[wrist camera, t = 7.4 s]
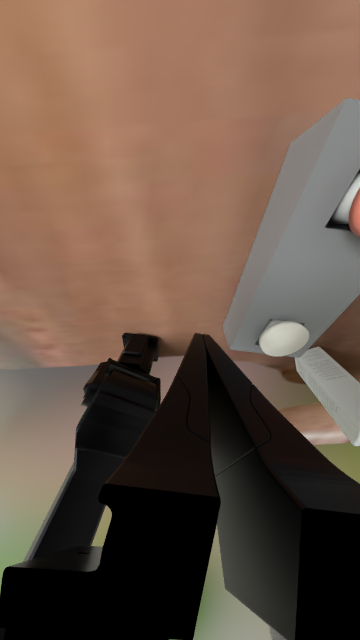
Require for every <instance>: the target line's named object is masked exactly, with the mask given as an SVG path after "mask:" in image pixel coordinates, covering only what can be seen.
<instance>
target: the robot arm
mask: <svg viewBox="0 0 360 640" xmlns="http://www.w3.org/2000/svg"><path fill="white" fill-rule="evenodd" d="M122 338H123V344H124V349H123V351H122V353H121V355H120V357H119V359H118V361H114V360H112V359H111V358H109V359H108V361H107V362H102V363H100V365H99V366H98V368H97V369H96V371H95V373H94V374H93V375H92V377H91V378H90V379H89V381H88V382H87V383H86V385H85V386H84V388H83V390H84V394H85V395H84V397H83V398H85V399H84V401H83V402H82V404H81V405H82V406H86V407H87V408H86V410H85V412H84V414H83V415H82V417H81V419H80V421H79V424H78V426H77V428H76V439H75V457H74V463H73V465H72V467H71V468H70V471H69V472H68V474H67V476H66V478H65V480H64V482H63V484H62V486H61V488H60V490H59V492H58V494H57V496H56V498H55V500H54V502H53V504H52V506H51V508H50V510H49V512H48V514H47V516H46V517H45V520H44V521H43V523H42V525H41V527H40V530H39V531H38V533H37V535H36V537H35V539H34V541H33V543H32V545H31V547H30V549H29V551H28V553H27V555H26V557H25V559H24V561H23V562H22V563H18V564H15V565H12V566H9V567H6V568H5V570H4V572H3V577H2V584H1V593H0V640H169V639H177V640H193V637H194V632H195V626H196V621H197V616H198V611H199V607H200V602H201V597H202V592H203V587H204V582H205V578H206V572H207V568H208V563H209V558H210V553H211V548H212V544H213V539H214V534H215V529H216V525H217V526H218V535H219V543H220V552H221V560H222V568H223V576H224V583H225V589H226V590H227V591H229V592H230V593H231V594H232V595H233V596H235V597H236V598H237V599H238V600H239V601H240V602H242V603H243V604H244V605H245V606H246V607H248V608H249V609H250V610H251V611H252V612H254V613H255V614H256V615H257V616H259V617H260V618H261V619H262V620H263V621H264V622H266V623H267V624H268V627H269V632H270V637H271V640H360V484H359V483H358V482H356V481H355V480H353V479H351V478H350V477H349V476H348V475H346V474H345V473H344V472H342V471H341V470H340V469H338V468H337V467H336V466H335V465H334V464H333V463H331V462H330V461H329V460H328V459H327V458H326V457H325V456H324V455H323V454H322V453H321V452H320V451H318V450H317V449H316V448H315V447H314V446H313V445H312V444H311V443H310V442H309V441H308V440H307V439H306V438H305V437H304V436H303V435H302V434H301V433H300V432H299V431H298V430H297V429H296V428H295V427H294V426H293V425H292V424H291V423H290V422H289V421H288V420H287V419H286V418H285V417H284V416H283V415H282V414H281V413H280V412H279V411H278V410H277V409H276V408H275V407H274V406H273V405H272V404H271V403H270V402H269V401H268V400H267V399H266V398H265V397H264V395H263V394H262V393H261V392H260V391H259V390H258V389H257V388H256V387H255V385H252V382H251V381H250V380H249V379H248V378H247V377H246V376H245V374H244V373H243V372H242V371H241V370H240V369H239V368H238V367H237V365H236V364H235V363H234V362H233V361H232V360H231V359H230V358H229V356H228V355H227V354H226V353H225V352H224V351H223V350H222V349H221V347H220V346H219V345H218V344H217V343H216V342H215V341H214V340H213V339H212V337H211V336H210V335H207V334H199V333H195V334H194V336H193V338H192V340H191V343H190V345H189V347H188V349H187V351H186V354H185V356H184V358H183V360H182V363H181V365H180V367H179V369H178V372H177V374H176V376H175V378H174V380H173V382H172V385H171V386H170V388H169V390H168V392H167V394H166V396H165V398H164V399H163V401H162V403H161V404H160V400H161V397H160V378H156V377H153V376H151V375H150V371H151V368H152V364H153V361H157V360H158V338H157V337H153V336H145V335H136V334H128V333H124V334H123V335H122ZM155 339H156V340H155ZM106 505H107V506H108V507H109V508H110V509H111V512H112V518H111V522H110V525H109V529H108V532H107V535H106V539H105V542H104V545H103V547H94V546H91V545H92V542H93V539H94V536H95V534H96V531H97V528H98V526H99V523H100V520H101V517H102V514H103V512H104V509H105V506H106Z"/></svg>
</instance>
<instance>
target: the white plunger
mask: <svg viewBox="0 0 360 640" xmlns="http://www.w3.org/2000/svg"><path fill="white" fill-rule="evenodd" d="M308 339H309V332H308V330H307V329H306V328H305V327H304V326H303V325H301V324H300V323H298V322H296V321H282V320H274V319H270V320H269V322H268V323H267V325H266V327H265V328H264V330H263V332H262V333H261V335H260V337H259V345H260V347H261V349H262V351H263V352H264V353H265V354H267V355H270V356H285V355H289V354H292V353H294V352H296V351H298V350H299V349H301V348H302V347H303V346H304V345H305V344H306V343H307V341H308Z"/></svg>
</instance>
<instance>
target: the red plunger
mask: <svg viewBox="0 0 360 640" xmlns="http://www.w3.org/2000/svg"><path fill="white" fill-rule="evenodd" d="M327 224H349V227H350V229H351V231H352V232H353V234H355V235H356V236H358V237H360V172H359V173H357V174H356V176H355V178H354V179H353V181H352V183H351V184H350V186H349V188H348V189H347V191H346V193H345V194H344V196H343V198H342V199H341V201H340V203H339V204H338V206H337V208H336V209H335V211H334V213H333V214H332V216H331V218H330V219H329V221H328V223H327Z"/></svg>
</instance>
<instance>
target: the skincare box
mask: <svg viewBox="0 0 360 640" xmlns="http://www.w3.org/2000/svg"><path fill="white" fill-rule="evenodd" d="M295 363H296V370H297V372H298V373H299V375H300V376H301V377H302V379H303V380H304V381H305V383H306V384H307V385H308V386H309V388H310V389H311V390H312V392H313V393H314V394H315V396H316V397H317V398H318V400H319V401H320V402H321V404H322V405H323V406H324V408H325V409H326V410H327V411H328V413H329V414H330V415H331V417H332V418H333V419H334V421H335V422H336V423H337V425H338V426H339V427H340V429H341V430H342V431H343V433H344V434H345V435H346V437H347V438H348V439H349V440H350V442H351V443H352V444H353V445H354V446H360V383H359V382H358V381H357V380H356V379H355V378H354V377H353V376H352V375H350V374H349V373H348V372H347V371H346V370H345V369H344V368H343V367H341V366H340V365H339V364H338V363H337V362H336V361H335V360H334V359H333V358H332V357H330V356H329V355H328V354H327V353H326V352H325V351H324V350H323V349H322V348H320V347H315V348H311V349H308V350H307V351H306V352H305V353H304V354H303V355H302V356H301V357H300V358H298V357H295Z"/></svg>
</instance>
